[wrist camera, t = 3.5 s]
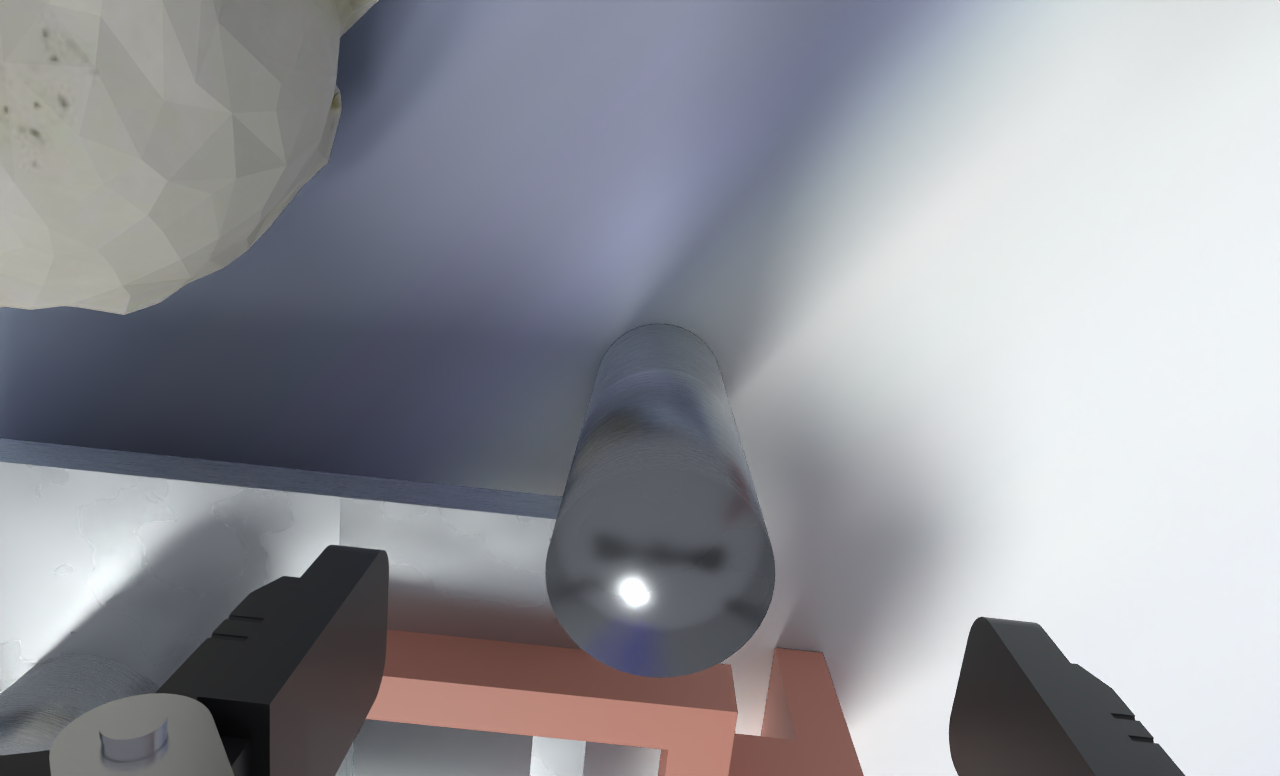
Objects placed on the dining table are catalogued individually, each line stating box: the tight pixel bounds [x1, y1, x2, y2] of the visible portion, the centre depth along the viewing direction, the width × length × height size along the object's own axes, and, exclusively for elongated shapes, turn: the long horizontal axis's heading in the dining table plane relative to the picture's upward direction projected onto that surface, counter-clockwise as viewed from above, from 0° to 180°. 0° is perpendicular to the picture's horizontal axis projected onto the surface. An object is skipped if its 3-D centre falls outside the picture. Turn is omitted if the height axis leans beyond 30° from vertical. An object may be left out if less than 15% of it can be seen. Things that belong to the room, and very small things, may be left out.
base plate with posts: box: [0, 438, 587, 776], centre depth 23 cm, size 20×15×11 cm
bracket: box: [366, 630, 864, 776], centre depth 25 cm, size 14×8×6 cm, turn 84°
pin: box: [545, 324, 775, 678], centre depth 20 cm, size 4×4×12 cm
